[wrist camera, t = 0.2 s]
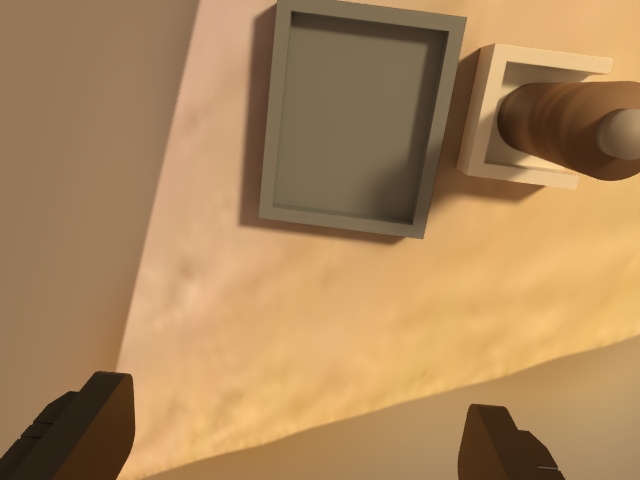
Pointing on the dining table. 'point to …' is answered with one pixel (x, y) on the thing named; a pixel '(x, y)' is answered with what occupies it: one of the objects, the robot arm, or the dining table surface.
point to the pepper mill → (576, 126)
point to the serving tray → (357, 114)
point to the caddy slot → (489, 93)
